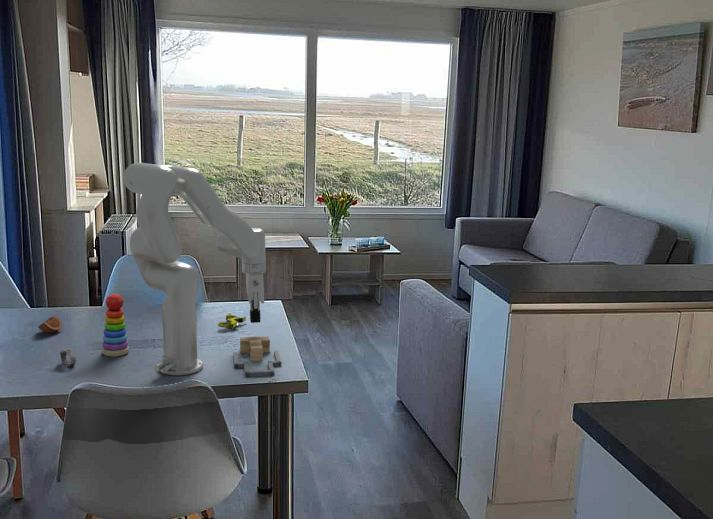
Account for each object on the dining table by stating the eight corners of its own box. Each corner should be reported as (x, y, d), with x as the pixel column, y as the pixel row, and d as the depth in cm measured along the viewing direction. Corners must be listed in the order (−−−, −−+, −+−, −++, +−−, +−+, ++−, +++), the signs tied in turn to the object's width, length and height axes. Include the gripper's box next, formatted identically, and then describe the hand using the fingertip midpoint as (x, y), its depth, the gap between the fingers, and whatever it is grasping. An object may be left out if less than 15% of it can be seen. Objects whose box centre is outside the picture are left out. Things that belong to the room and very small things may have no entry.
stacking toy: (100, 358, 207) (97, 298, 202) (103, 349, 214) (100, 291, 210) (128, 356, 209) (126, 297, 205) (129, 347, 216) (127, 290, 212)
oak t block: (240, 349, 218) (240, 337, 217) (268, 348, 220) (268, 336, 219) (241, 361, 208) (241, 348, 207) (271, 360, 210) (271, 347, 209)
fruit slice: (53, 337, 224) (52, 322, 222) (33, 336, 224) (32, 321, 223) (65, 329, 232) (65, 314, 231) (46, 328, 232) (45, 313, 231)
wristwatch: (68, 360, 204) (67, 344, 203) (79, 366, 200) (78, 350, 199) (57, 364, 201) (56, 347, 200) (68, 369, 197) (67, 353, 196)
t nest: (233, 356, 212) (233, 352, 212) (278, 354, 215) (278, 350, 214) (235, 377, 196) (235, 373, 195) (284, 374, 198) (284, 370, 198)
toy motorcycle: (227, 310, 245) (246, 312, 244) (227, 320, 246) (246, 322, 245) (216, 320, 234) (236, 322, 233) (216, 331, 235) (236, 333, 234)
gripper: (267, 272, 212) (269, 328, 217) (263, 260, 226) (265, 313, 231) (243, 273, 211) (244, 330, 215) (240, 261, 225) (242, 315, 229)
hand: (255, 321), depth 223 cm, fingers closed
